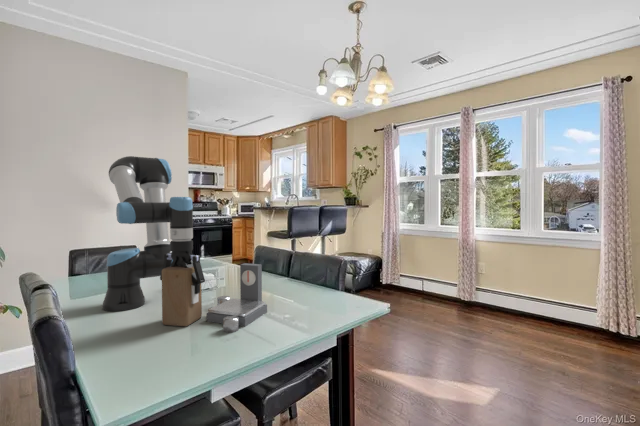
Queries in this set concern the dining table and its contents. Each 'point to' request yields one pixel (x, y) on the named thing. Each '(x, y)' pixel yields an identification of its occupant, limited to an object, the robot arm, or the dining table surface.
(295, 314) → the dining table surface
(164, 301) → the wooden block
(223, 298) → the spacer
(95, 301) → the dining table surface
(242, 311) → the pan
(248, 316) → the base
